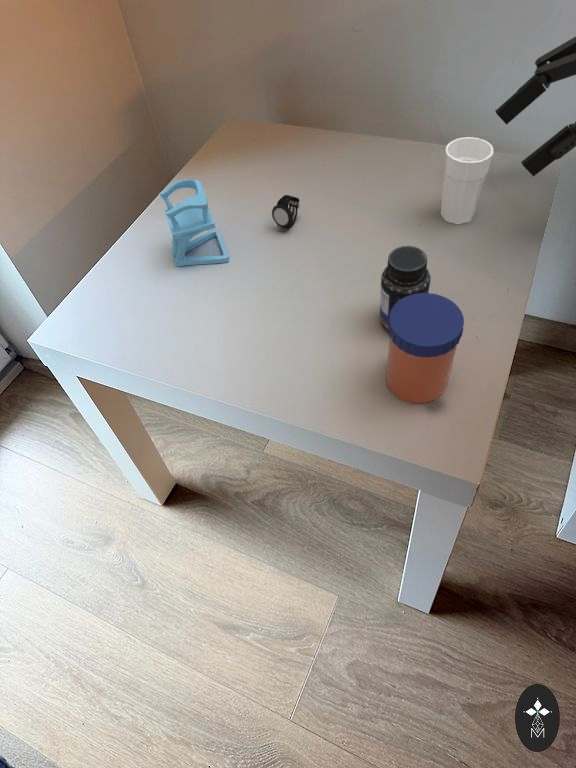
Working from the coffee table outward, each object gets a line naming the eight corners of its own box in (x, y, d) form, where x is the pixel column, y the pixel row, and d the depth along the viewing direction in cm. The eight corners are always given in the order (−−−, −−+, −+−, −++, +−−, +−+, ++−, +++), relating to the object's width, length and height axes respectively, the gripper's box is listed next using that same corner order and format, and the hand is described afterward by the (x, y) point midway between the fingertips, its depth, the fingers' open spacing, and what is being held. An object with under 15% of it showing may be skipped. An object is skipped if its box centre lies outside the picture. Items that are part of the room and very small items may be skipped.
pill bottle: (431, 313, 74) (442, 250, 65) (412, 343, 71) (421, 281, 62) (390, 298, 76) (395, 236, 68) (371, 327, 74) (373, 265, 65)
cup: (477, 201, 87) (491, 136, 79) (480, 227, 84) (495, 162, 75) (436, 201, 88) (445, 137, 80) (436, 226, 85) (446, 162, 76)
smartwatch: (270, 226, 89) (266, 200, 85) (295, 213, 90) (292, 186, 86) (285, 238, 87) (282, 211, 83) (310, 224, 88) (308, 197, 84)
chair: (170, 246, 88) (148, 181, 79) (218, 232, 89) (202, 166, 79) (178, 276, 84) (156, 211, 74) (230, 261, 85) (214, 195, 75)
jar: (459, 375, 68) (475, 317, 59) (424, 414, 65) (435, 359, 56) (409, 346, 71) (417, 287, 63) (373, 382, 68) (376, 325, 60)
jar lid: (475, 325, 60) (479, 313, 59) (434, 369, 57) (436, 358, 56) (415, 294, 64) (417, 282, 62) (373, 334, 61) (374, 323, 59)
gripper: (738, 78, 58) (554, 209, 71) (642, -8, 73) (504, 114, 86) (714, 30, 54) (524, 178, 67) (617, -51, 69) (477, 83, 82)
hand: (513, 142), depth 77 cm, fingers open, 13 cm apart
